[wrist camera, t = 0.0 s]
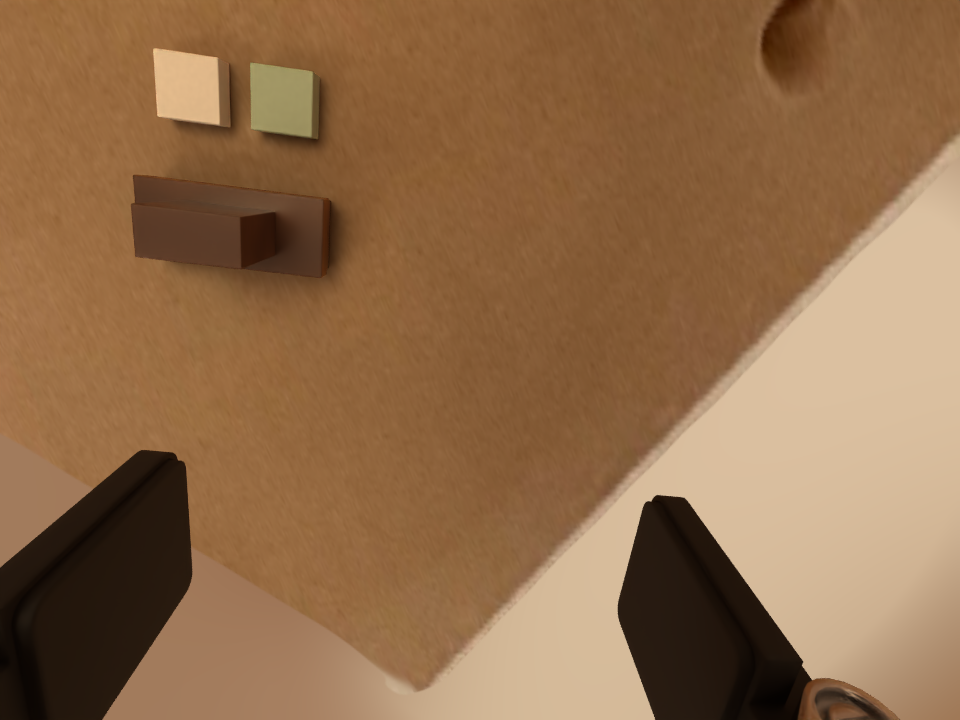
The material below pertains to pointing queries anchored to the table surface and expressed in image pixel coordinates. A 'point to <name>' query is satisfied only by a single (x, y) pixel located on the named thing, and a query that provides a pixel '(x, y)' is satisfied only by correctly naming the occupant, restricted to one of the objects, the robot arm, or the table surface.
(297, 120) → the chip
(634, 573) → the robot arm
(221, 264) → the brown inverted t block
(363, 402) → the table surface
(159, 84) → the chip
